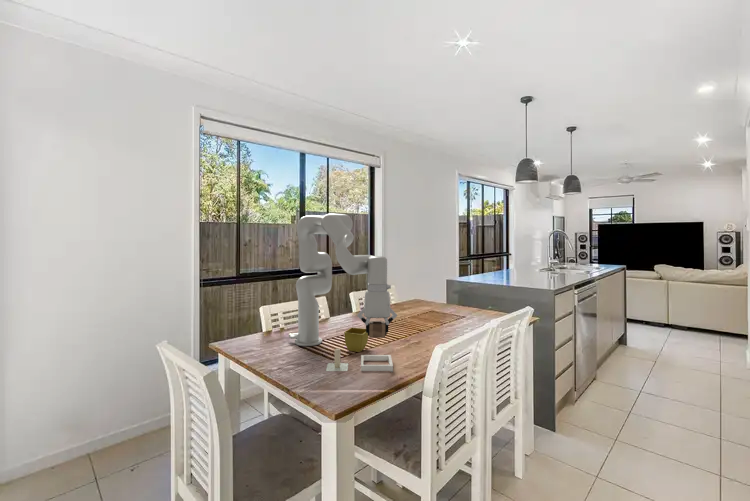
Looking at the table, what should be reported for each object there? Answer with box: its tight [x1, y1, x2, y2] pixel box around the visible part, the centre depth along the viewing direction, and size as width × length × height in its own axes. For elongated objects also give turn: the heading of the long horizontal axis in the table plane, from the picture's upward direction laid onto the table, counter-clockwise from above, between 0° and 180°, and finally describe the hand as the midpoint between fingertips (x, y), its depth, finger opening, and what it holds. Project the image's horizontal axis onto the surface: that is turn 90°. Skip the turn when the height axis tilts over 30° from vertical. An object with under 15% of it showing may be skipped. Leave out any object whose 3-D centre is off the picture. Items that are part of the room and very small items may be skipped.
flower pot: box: [343, 327, 369, 353], centre depth 160 cm, size 9×9×9 cm
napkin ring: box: [368, 320, 386, 339], centre depth 141 cm, size 6×6×5 cm
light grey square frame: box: [360, 354, 394, 373], centre depth 142 cm, size 12×12×2 cm
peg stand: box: [325, 348, 349, 372], centre depth 139 cm, size 8×8×7 cm
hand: (377, 334), depth 141 cm, fingers closed on napkin ring, 6 cm apart
